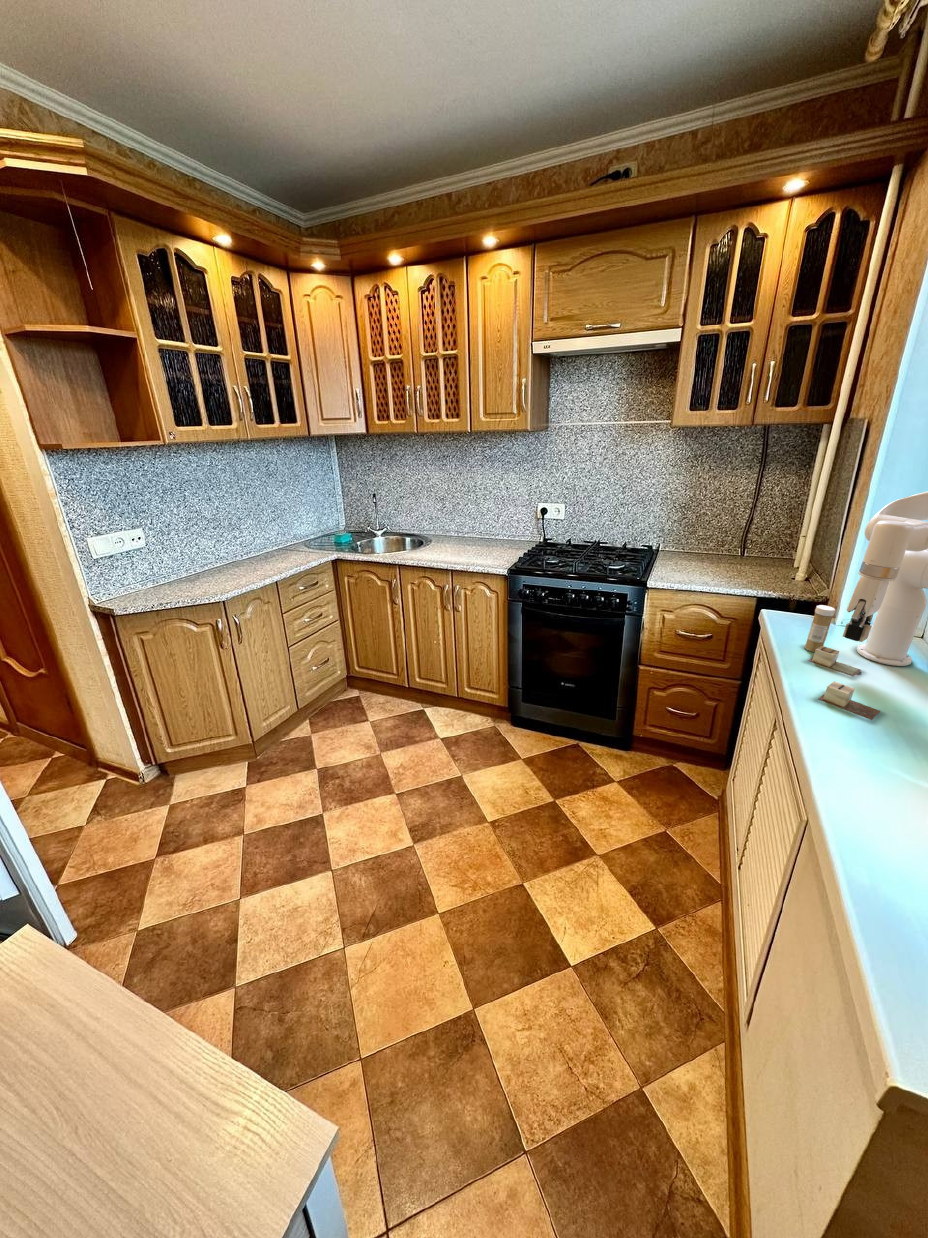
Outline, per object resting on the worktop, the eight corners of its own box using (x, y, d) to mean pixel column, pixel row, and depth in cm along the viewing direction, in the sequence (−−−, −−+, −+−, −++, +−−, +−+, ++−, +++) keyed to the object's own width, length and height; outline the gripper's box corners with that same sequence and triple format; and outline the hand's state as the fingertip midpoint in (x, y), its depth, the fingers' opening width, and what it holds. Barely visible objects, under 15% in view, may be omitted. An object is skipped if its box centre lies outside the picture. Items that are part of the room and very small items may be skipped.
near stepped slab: (826, 693, 127) (832, 678, 125) (880, 713, 119) (886, 697, 117) (816, 701, 123) (822, 685, 121) (870, 722, 115) (877, 705, 113)
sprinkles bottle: (824, 650, 150) (838, 608, 145) (817, 654, 148) (831, 611, 142) (808, 645, 153) (821, 603, 148) (800, 648, 151) (813, 606, 146)
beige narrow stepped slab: (815, 656, 146) (820, 643, 144) (860, 671, 138) (865, 657, 136) (806, 662, 142) (811, 648, 141) (852, 678, 134) (857, 664, 133)
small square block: (848, 632, 137) (852, 620, 136) (867, 638, 134) (872, 625, 133) (842, 636, 135) (846, 623, 133) (861, 642, 132) (866, 629, 130)
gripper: (871, 562, 135) (849, 625, 142) (849, 572, 125) (826, 639, 132) (906, 569, 130) (882, 634, 136) (886, 580, 120) (860, 650, 127)
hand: (855, 636), depth 134 cm, fingers closed on small square block, 4 cm apart
